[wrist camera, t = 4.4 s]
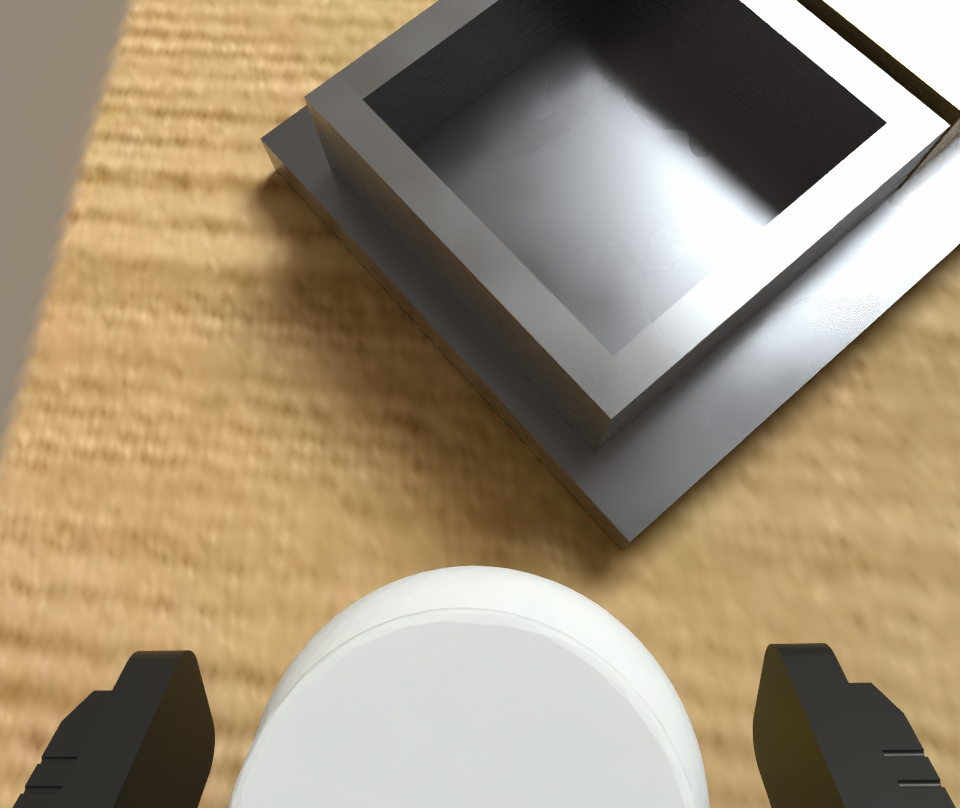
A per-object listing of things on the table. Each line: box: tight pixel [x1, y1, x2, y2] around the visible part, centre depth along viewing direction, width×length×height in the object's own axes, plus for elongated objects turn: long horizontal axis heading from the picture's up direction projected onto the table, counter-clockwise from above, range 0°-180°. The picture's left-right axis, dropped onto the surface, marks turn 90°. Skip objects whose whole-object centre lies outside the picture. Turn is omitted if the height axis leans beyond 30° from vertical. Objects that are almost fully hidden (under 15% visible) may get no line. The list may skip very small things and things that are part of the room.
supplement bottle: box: [229, 566, 710, 808], centre depth 11 cm, size 5×5×10 cm
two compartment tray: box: [261, 0, 960, 550], centre depth 18 cm, size 19×12×4 cm, turn 131°
